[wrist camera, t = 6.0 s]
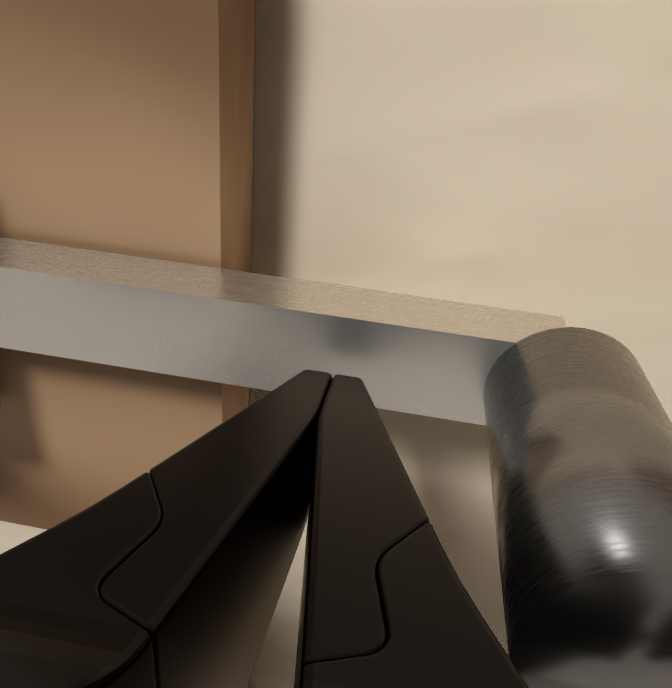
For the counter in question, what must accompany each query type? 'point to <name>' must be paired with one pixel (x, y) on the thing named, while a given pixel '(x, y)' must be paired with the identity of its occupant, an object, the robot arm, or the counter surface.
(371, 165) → the counter surface
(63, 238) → the tunnel deck
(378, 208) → the counter surface
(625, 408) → the sled
